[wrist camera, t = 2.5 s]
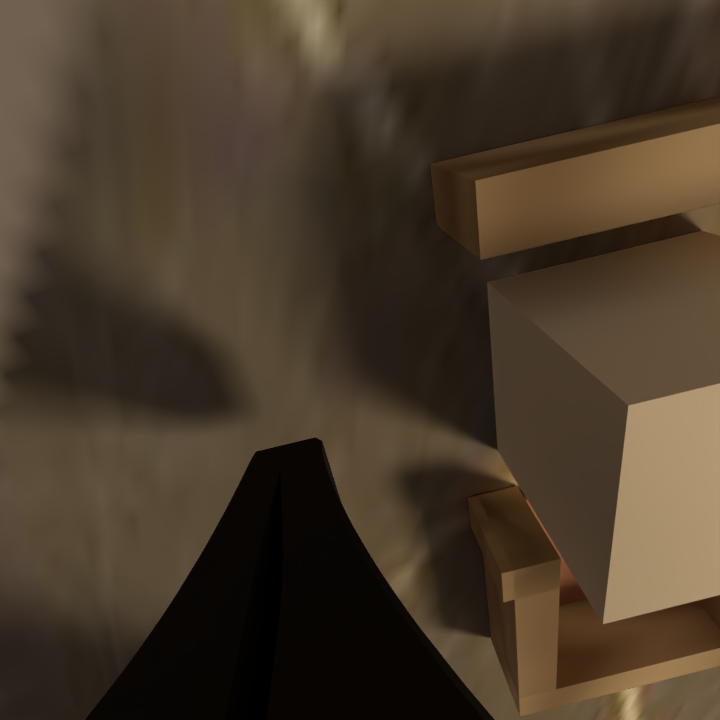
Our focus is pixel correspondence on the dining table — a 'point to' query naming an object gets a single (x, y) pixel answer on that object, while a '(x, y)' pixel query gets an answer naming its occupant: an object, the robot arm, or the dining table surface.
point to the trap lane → (508, 506)
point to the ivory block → (618, 416)
